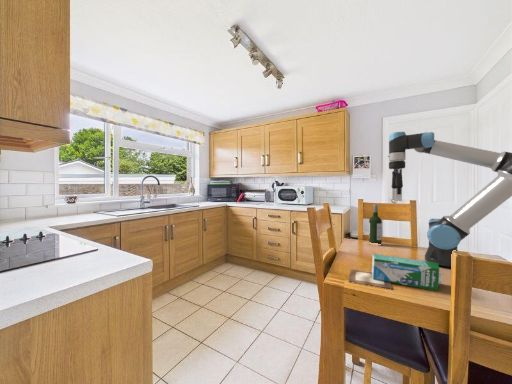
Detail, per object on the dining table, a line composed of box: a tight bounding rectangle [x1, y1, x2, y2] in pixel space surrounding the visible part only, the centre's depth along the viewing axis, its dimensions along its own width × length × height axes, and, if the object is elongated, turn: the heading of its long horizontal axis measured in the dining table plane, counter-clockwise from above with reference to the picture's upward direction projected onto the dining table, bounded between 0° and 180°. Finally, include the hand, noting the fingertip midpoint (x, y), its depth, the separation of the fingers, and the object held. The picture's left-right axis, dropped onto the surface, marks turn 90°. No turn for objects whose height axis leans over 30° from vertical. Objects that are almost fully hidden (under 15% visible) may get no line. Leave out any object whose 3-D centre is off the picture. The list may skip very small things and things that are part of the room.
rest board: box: [348, 268, 393, 290], centre depth 98 cm, size 16×16×1 cm
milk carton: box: [371, 253, 444, 292], centre depth 94 cm, size 9×9×25 cm
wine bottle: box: [368, 204, 383, 244], centre depth 156 cm, size 8×8×30 cm
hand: (396, 200), depth 118 cm, fingers open, 13 cm apart
